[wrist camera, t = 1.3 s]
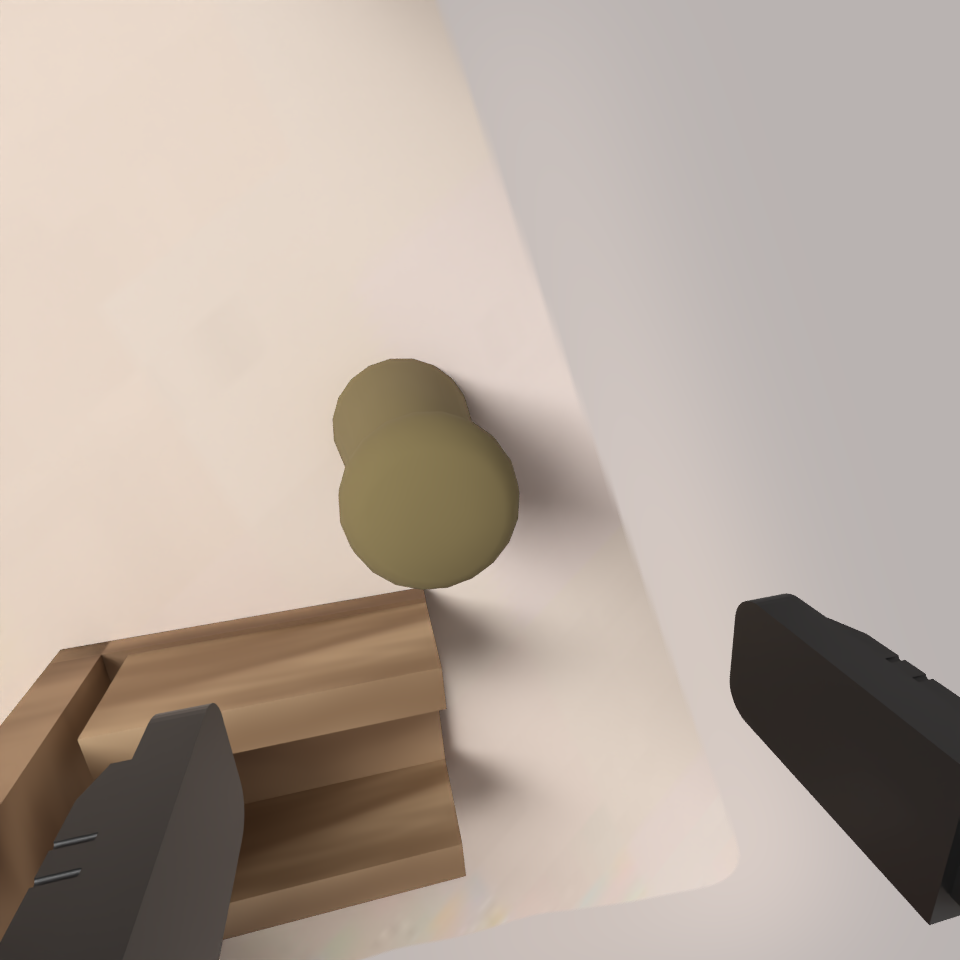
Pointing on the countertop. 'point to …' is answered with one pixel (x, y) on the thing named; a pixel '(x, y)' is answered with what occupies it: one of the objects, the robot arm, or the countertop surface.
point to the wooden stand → (260, 750)
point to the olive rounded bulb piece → (420, 477)
